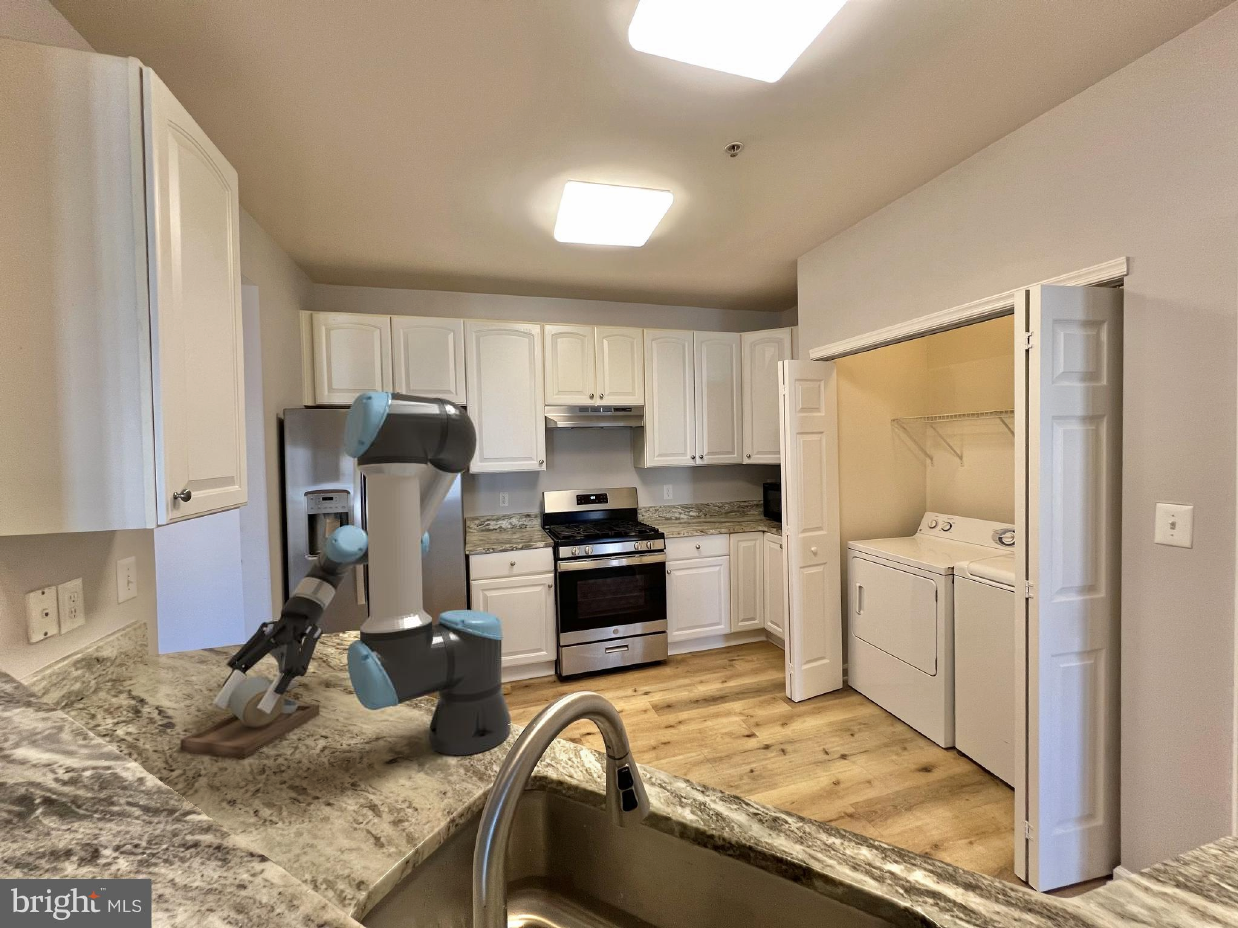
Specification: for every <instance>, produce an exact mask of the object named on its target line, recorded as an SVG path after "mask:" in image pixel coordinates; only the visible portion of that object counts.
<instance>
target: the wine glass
mask: <svg viewBox="0 0 1238 928" xmlns="http://www.w3.org/2000/svg"><path fill="white" fill-rule="evenodd" d="M278 620H279V619H275V620H271V621H267V622H266V623H268V624H275V623H276V622H277V621H278ZM271 640H272V641H273V638H272V639H271ZM273 642H275V641H273ZM286 650H287V645H280V646H279V647H278V648H276V649H273V650H271V651H270V652H269V653H268V654H269V655H270V656H271V657H272V658H273V659H274V660H276V663H277V665H278V673H280V674H283V675H284V673H282V672H281V670H282V671H283V669H284V664H285V657H286ZM299 684H300V682H299V681H298V680H292V681H291V682H290V684H289V686H288V687H287V689H286V691H285V692H287V691H290V690H292V688H293V689H295V688H297V687H298V686H299Z"/></svg>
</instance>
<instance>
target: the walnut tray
mask: <svg viewBox="0 0 1238 928" xmlns="http://www.w3.org/2000/svg"><path fill="white" fill-rule="evenodd" d="M297 703H298V707H297V709H296V711H295V712H294V713H292V714H282V713H281V714H280V715H279V716H278V717H277V718H276V719H275V720H274V721H273V722H271V723H270V724H268V725H265V726H262V727H250V726H248V725H245V724H244V723H243V722H242V721H241V720H240V719H239V718H238V717H237V716H236V715H235V714H234V713H232V714H230V715H228V716H226V717H224V718H222V719H221V720H219V721H216V722H214V723H211V724H210V725H208V726H206V727H204V728H201V729H200V730H197V731H195V732H193V733H191V734H190V735H187V736H186V737H184V738H181V739H180V752H186V753H187V752H188V753H194V754H200V755H201V754H202V755H211V756H217V757H224V758H225V757H226V758H232V759H233V758H234V759H241V760H246V759H247V758H249V757H251V756H252V755H255V754H256V753H257V752H259V751H260V750H259V749H261V748H263V747H264V746H266V745H268V744H269V743H271V742H273V741H274V740H276V739H278V738H279V739H281V738H282V736H283V737H284V736H286V735H287V734H286V733H288V734H290V733H291V732H293V731H295V730H296V729H298V728H300V727H301V726H302V725H304V723H305V724H306V723H308V722H309V721H311V720H313V719H315V718H317V717H318V716H320V714H321V713H320V710H321V709H320V708H321V705H320V704H313V703H303V702H297ZM299 726H300V727H299ZM295 728H296V729H295ZM294 729H295V730H294ZM292 730H293V731H292ZM290 731H291V732H290ZM285 734H286V735H285ZM280 737H281V738H280ZM279 739H278V740H279ZM276 741H277V740H276ZM274 742H275V741H274ZM274 742H273V743H274ZM271 744H272V743H271ZM269 745H270V744H269ZM269 745H268V746H269ZM266 747H267V746H266ZM264 748H265V747H264ZM264 748H263V749H264ZM258 750H259V751H258ZM261 750H262V749H261ZM256 751H257V752H256ZM255 752H256V753H255Z"/></svg>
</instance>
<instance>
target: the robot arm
mask: <svg viewBox="0 0 1238 928" xmlns="http://www.w3.org/2000/svg"><path fill="white" fill-rule="evenodd" d="M343 432H344V434H343V446H344V451H345V454H346V455H347V457H350V458H352V459H356V468H357V470H358V471H359V472H360V473H361V474H362V475H364V476H365V478H366V486H367V487H366V490H367V491H366V492H367V493H366V494H367V496H366V497H367V499H366V500H367V530H363V529H362V528H361V527H358V526H355V525H353V524H352V525H351V524H350V525H349V524H348V525H343V526H341V527H338V528H337V529H336V530H334V532H333V533H332V534H330V535H329V537H328V538H327V540H326V542H325V544H324V546H323V547H322V549H321V551H319V554H317V557H316V559H315V560H314V561H313V563H312V565H311V566H310V567H309V570H308V571H307V572H306V574H305V575H304V577H303V578H302V580H300V582H299V583H298V585H297V587H295V589H294V591H293V592H292V594H291V596H292V597H289V599H288V600H287V601H286V603H285V605H284V606H283V607H282V609H281V610H280V617H279V619H277V620H278V621H277V622H276V623H275V624H268V623H267V622H266V621H263V622H261V624H260V625H259V627H258V629H257V630H256V632H255V633H254V634H253V635H252V636H251V637H250V638H249V640H247V641H246V643H245V644H244V645H243V646H242V647H240V649H239V650H238V651H236V653H235V654H234V655H233V656H232V657H231V658H230V660H229V661H227V664H226V666H228V667H229V668H230V669H231V672H230V673H229V675H228V676H227V678H226V679H225V681H224V682H223V684H222V688H221V689H220V691H219V692H218V694H217V695H216V697H215V698H214V700H213V701H212V704H213V706H214V705H215V706H216V707H218V708H219V709H221V710H226V708H227V707H228V706H229V701H230V696H231V694H232V692H233V691H234V689H235V688H236V687H237V686H238V685H239V684H240V683H242V682H243V681H245V680H246V678H247V677H248V675H247V672H248V671H249V670H250V669H252V668H253V667H254V666H255V665H257V663H259V662H260V661H261V660H262V659H263V658H265V657H266V656H267V655H268V654H269V652H270V651H271V650H273V649H276V648H278V647H279V646H280V645H287V650H286V657H285V664H284V669H283V671H282V670H281V672H282V673H283V674H280V673H279V672H278V673H277V674H276V676H275V678H274V679H273V681H272V684H271V686H270V687H269V689H268V691H267V692H266V694H265V695H264V697H263V699H262V700H261V702H260V703H259V705H258V707H257V708H258V709H260V710H261V711H263V712H264V713H266V714H269V713H270V711H271V710H272V708H273V706H274V705H275V703H276V701H277V700H278V698H279V696H280V695H282V694H283V695H284V694H285V692H287V691H286V689H287V687H288V686H289V684H290V682H291V681H293V680H294V679H296V678H298V677H305V675H306V674H307V672H308V669H309V667H310V663H311V660H312V658H313V655H314V653H315V652H314V651H315V649H316V647H317V643H318V642H319V640H320V638H321V637H322V635H323V633H324V631H323V630H322V629H321V628H319V626H317V624H318V623H319V621H320V619H321V618H322V615H323V614H324V613H325V611H324V610H326V609H327V607H328V606H329V604H330V602H331V601H332V600H333V598H334V597H335V594H336V593H337V591H338V589H339V588H340V586H341V585H342V583H343V581H344V580H345V578H346V577H347V575H348V573H349V572H350V571H351V570H352V568H353V567H354V566H361V565H363V566H364V565H368V596H369V597H368V599H369V600H368V601H369V616H368V618H367V619H366V620H365V621H364V622H363V623H362V625H361V626H360V627H359V639H356V640H354V641H352V642H350V644H349V645H348V648H347V651H348V652H347V654H346V659H347V669H348V674H349V680H350V683H351V686H352V689H353V692H354V694H355V696H356V698H357V700H358V701H359V703H360V704H361V705H362V706H363V707H364V708H365V709H367V710H369V711H378V710H381V709H386V708H390V707H397V706H398V705H400V704H403V703H406V702H410V701H413V700H415V699H420V698H422V697H425V696H429V695H432V694H435V693H438V697H437V701H436V704H435V708H434V711H433V714H432V717H431V720H430V723H429V727H428V744H429V746H430V747H431V749H433V750H434V751H436V752H438V753H441V754H444V755H451V756H464V755H465V756H467V755H473V754H477V753H482V752H484V751H489V750H491V749H492V748H495V747H497V746H498V745H500V744H502V743H503V742H504V741H506V739H507V738H508V737H509V736H510V733H511V731H512V730H511V729H512V728H511V724H512V723H511V720H512V719H511V714H510V711H509V708H508V704H507V701H506V700H505V696H504V694H503V691H502V690H503V689H502V685H503V684H502V672H503V671H502V668H503V667H502V664H503V663H502V659H503V658H502V655H503V654H502V651H503V650H502V648H503V645H502V644H503V641H502V640H504V639H503V638H504V637H503V633H502V631H503V630H502V621H501V619H500V618H499V617H498V616H497V615H496V614H494V613H491V612H488V611H482V610H472V609H471V610H470V609H459V610H458V609H456V610H448V611H444V612H441V613H440V614H439V617H438V619H437V622H438V623H437V624H433V618H432V616H431V615H429V614H428V613H427V612H426V611H425V609H424V607H423V605H424V604H423V603H424V602H423V568H422V566H423V565H422V564H423V563H422V557H425V556H426V555H427V553H428V552H429V547H430V535H429V532H428V529H429V528H430V526H431V524H432V523H433V520H434V519H435V518H436V516H437V514H438V512H439V510H440V508H441V506H442V504H443V503H444V500H445V499H446V497H447V495H448V494H449V492H450V490H451V489H452V486H453V485H454V483H455V481H456V479H457V477H458V476H459V474H462V473H463V472H465V471H467V470H468V468H469V467H470V465H471V462H473V459H474V457H475V453H476V450H477V443H478V442H477V441H478V440H477V432H476V428H475V426H474V423H473V421H472V419H471V417H470V415H469V414H468V412H467V411H466V409H464V408H463V407H461V406H460V405H459V404H457V403H455V402H453V401H452V400H450V399H446V398H442V397H431V396H430V397H429V396H420V395H413V394H407V393H399V392H398V393H397V392H390V391H381V392H380V391H364V392H362V393H360V394H358V395H357V397H356V398H355V399H354V401H353V402H352V404H351V406H350V408H349V411H348V414H347V418H346V420H345V425H344V431H343ZM272 638H273V641H275V642H273V641H272V640H271V639H272ZM508 724H510V725H508Z"/></svg>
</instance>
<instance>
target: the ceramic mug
mask: <svg viewBox="0 0 1238 928" xmlns="http://www.w3.org/2000/svg"><path fill="white" fill-rule="evenodd" d="M272 683H273V681H272V680H270V679H269V678H267V677H265V676H252V677H249V678H247V679H245V680H244V681H243V682H242V683H240V684H239V685H238V686H237V687H236V688H235V689H234V691H233V692H232V694H231V696H230V701H229V704H228V706H229V710H230V712H231V713H232V714H235V715H236V716H237V717H238V718H239V719H240V720H241V721H242V722H243V723H244V724H245V725H248V726H250V727H262V726H265V725H268V724H270V723H271V722H273V721H274V720H275V719H276V718H277V717H278V716H279V715H280V714H281V713H282V714H292V713H294V712H295V711H296V709H297V707H298V703H299V702H297V701H296V700H294V699H291V698H289V697H285V696H284V693H283V694H282V695H280V696H279V698H278V700H277V701H276V703H275V705H274V706H273V708H272V710H271V711H270V713H269V714H266V713H264V712H263V711H261V710H260V709H258V708H257V707H258V705H259V703H260V702H261V700H262V699H263V697H264V695H265V694H266V692H267V691H268V689H269V687H270V686H271V684H272Z"/></svg>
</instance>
